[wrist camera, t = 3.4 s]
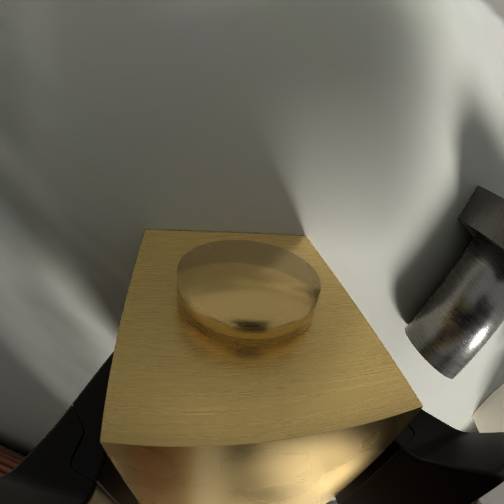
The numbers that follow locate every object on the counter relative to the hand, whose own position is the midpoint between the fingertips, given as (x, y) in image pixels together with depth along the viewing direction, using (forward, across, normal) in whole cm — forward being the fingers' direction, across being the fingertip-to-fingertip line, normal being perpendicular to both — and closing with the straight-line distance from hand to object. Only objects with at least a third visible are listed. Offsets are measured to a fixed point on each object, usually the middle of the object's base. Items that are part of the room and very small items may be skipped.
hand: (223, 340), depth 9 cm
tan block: (+1, 0, 0) cm, 1 cm away
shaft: (+1, -10, -2) cm, 10 cm away
